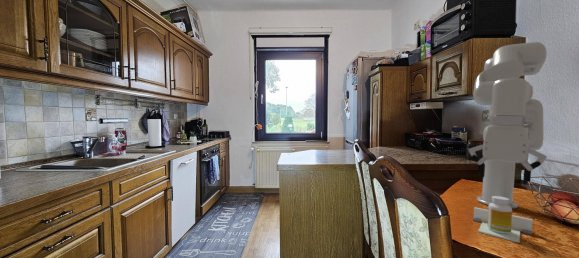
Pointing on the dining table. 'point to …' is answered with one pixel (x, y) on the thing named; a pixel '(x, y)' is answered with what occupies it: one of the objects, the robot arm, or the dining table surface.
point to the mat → (512, 236)
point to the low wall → (516, 224)
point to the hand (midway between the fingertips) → (502, 180)
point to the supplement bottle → (500, 215)
